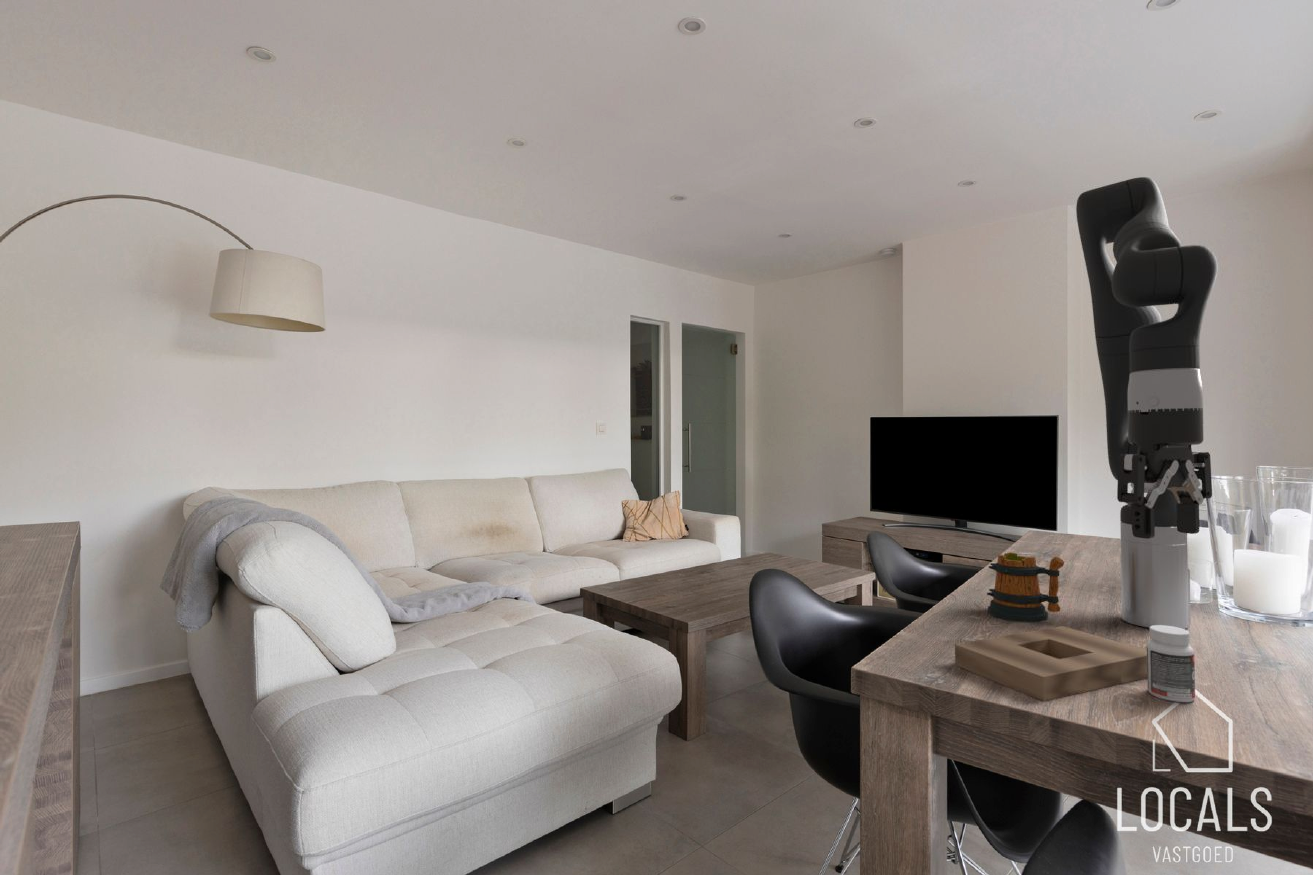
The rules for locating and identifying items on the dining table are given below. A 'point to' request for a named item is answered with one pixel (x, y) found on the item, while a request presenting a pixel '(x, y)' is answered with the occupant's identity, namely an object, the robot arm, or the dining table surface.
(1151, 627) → the pill bottle
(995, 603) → the mug
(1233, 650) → the dining table surface
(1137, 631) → the dining table surface
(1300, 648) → the dining table surface
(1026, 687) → the board
